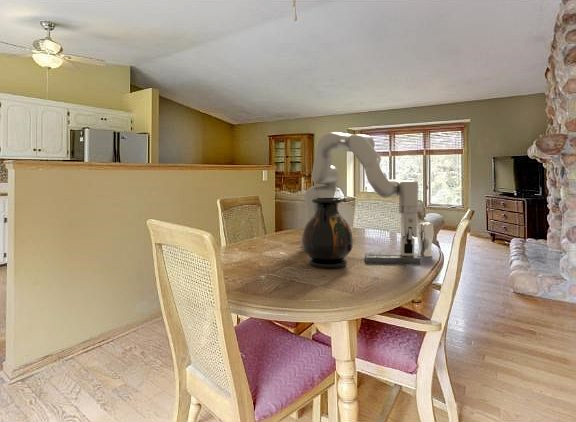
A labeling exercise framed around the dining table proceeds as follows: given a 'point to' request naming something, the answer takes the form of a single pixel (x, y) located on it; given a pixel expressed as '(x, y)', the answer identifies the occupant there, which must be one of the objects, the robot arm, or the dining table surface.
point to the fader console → (391, 258)
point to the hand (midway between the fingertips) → (407, 251)
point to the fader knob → (403, 247)
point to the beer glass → (425, 238)
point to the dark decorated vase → (327, 235)
